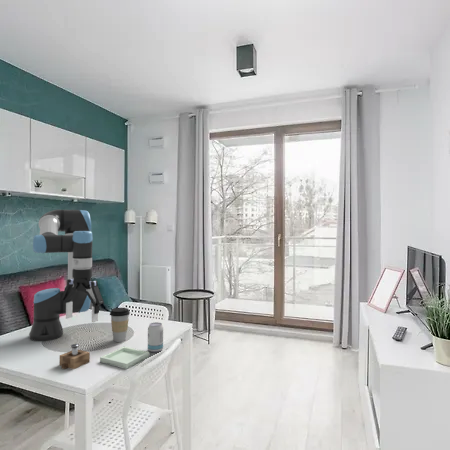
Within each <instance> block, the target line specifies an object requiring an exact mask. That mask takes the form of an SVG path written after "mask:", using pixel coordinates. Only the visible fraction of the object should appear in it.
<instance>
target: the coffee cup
mask: <svg viewBox="0 0 450 450" xmlns="http://www.w3.org/2000/svg"><path fill="white" fill-rule="evenodd" d="M130 314H131V312H130V310H129V308H127V307H116V308H112V309H111V311H110V312H109V316H110V317H111V318H110V319H111V320H110V322H111V323H110V324H111V331H112V339H113V342H116V343H122V342H124V341H126V339H127V334H128V327H129V320H130V319H129V318H130V317H129V316H130Z"/></svg>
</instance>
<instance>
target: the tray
mask: <svg viewBox="0 0 450 450" xmlns="http://www.w3.org/2000/svg"><path fill="white" fill-rule="evenodd" d="M148 358H150V351H146V350H142V349H137V348H133V347H129V346H122V347H119V348H117V349H116V350H112V351H111V352H108V353H107V354H105V355H102V356H100V357H99V363H101V364H106V365H109V366H114V367H117V368H122V369H126V370H127V369H129V368H131V367H133V366H135V365H136V364H138V363H141V362H142V361H145V360H146V359H148Z"/></svg>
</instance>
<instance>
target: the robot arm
mask: <svg viewBox="0 0 450 450" xmlns="http://www.w3.org/2000/svg"><path fill="white" fill-rule="evenodd" d="M38 228H39V234H36V235H33V239H32V251H33V252H34V253H35V254H51V253H52V254H55V253H58V254H59V253H67V281H66V282H67V283H66V284H65V286H64V290H61V288H59V287H54V288H53V287H52V288H46V289H42V290H40V291H37V292H36V293H35V294H34V295H33V322H32V326H31V329H30V331H29V334H28V335H29V336H28V339H29V340H30V341H34V342H35V341H36V342H45V341H50V340H51V341H52V340H55V339H58V338H61V337H62V336H63V335H64V329H63V326H62V322H61V319H60V315H65V319H67V320H68V319H70V318H71V319H72V318H73V314H76V313H78V314H80V313H85V312H88V311H89V309H90V307H91V323H95V322H98V321H99V313H100V305H102V304H104V299H103V297H102V294H101V292H100V289H99V286H98V281H97V280H93V281H92V280H91V279H92V277H93V269H92V267H93V232H92V219H91V215H90V213H89V211H87V210H84V209H83V210H82V209H53V210H50V211H48V212H46V213H44V214H42V215H41V217H40V218H39V220H38ZM59 232H64V234H59ZM91 303H92V305H91Z"/></svg>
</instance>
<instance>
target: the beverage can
mask: <svg viewBox="0 0 450 450" xmlns="http://www.w3.org/2000/svg"><path fill="white" fill-rule="evenodd" d="M163 349H164V326H163V323H161V322H159V321H158V322H151V323H149V325H148V327H147V350H148V352H149V353H153V354H154V353H160V352H161V351H162V350H163Z"/></svg>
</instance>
